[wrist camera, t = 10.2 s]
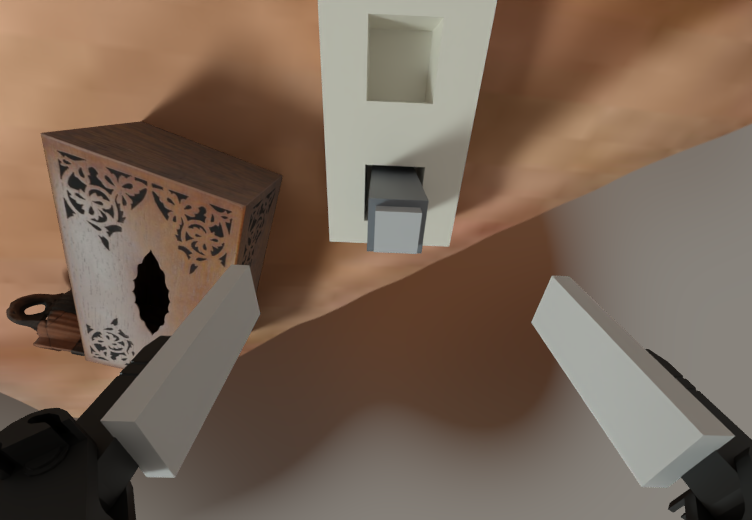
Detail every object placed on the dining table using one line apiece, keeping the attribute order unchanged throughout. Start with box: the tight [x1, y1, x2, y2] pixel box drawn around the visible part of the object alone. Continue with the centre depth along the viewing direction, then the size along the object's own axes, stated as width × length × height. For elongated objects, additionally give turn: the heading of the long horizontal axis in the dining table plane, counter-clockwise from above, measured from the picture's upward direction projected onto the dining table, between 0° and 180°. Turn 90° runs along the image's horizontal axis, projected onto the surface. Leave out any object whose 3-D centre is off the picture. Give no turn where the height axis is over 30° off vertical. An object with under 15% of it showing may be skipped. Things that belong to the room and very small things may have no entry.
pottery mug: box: [6, 289, 85, 356], centre depth 39 cm, size 12×10×8 cm
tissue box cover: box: [41, 122, 282, 369], centre depth 32 cm, size 26×14×10 cm, turn 158°
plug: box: [367, 165, 429, 254], centre depth 24 cm, size 4×4×13 cm
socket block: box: [318, 0, 497, 246], centre depth 26 cm, size 12×20×6 cm, turn 178°
